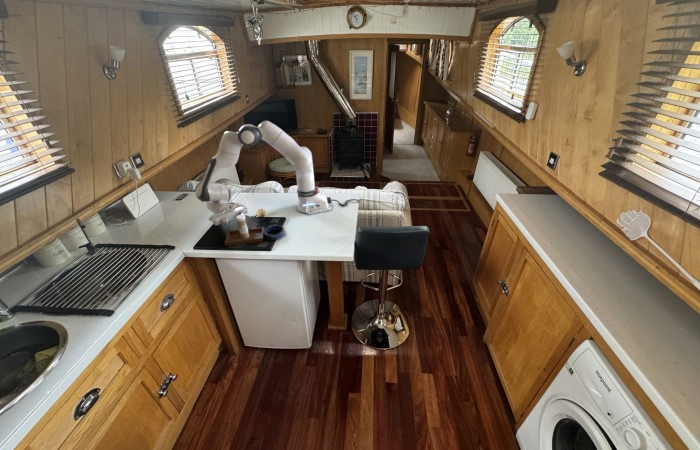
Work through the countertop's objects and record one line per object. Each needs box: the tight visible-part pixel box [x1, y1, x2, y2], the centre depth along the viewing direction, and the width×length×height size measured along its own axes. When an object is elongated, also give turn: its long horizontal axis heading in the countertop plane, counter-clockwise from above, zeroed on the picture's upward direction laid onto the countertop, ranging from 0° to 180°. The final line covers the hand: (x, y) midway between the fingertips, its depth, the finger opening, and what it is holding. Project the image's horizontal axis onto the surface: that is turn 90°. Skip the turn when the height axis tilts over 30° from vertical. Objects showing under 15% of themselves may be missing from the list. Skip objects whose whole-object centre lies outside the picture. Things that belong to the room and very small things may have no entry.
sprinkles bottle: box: [235, 215, 249, 239], centre depth 156 cm, size 5×5×13 cm
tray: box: [224, 226, 266, 247], centre depth 159 cm, size 20×12×2 cm, turn 100°
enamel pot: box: [264, 223, 285, 241], centre depth 162 cm, size 11×14×3 cm
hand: (236, 219), depth 158 cm, fingers open, 8 cm apart
